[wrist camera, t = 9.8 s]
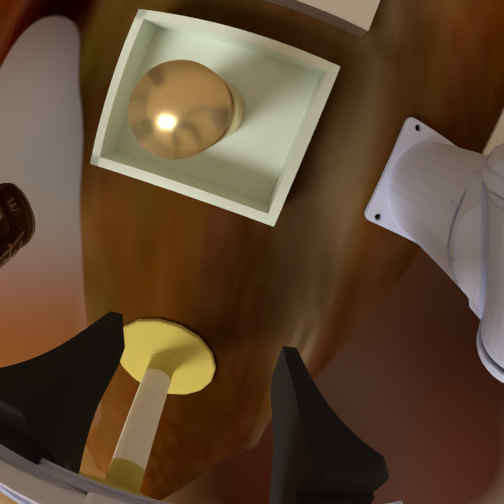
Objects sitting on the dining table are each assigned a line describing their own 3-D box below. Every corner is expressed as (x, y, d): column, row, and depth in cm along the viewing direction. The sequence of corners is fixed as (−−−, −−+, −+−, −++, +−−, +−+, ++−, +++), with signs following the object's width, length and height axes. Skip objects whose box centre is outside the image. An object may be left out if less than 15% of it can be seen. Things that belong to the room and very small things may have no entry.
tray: (329, 73, 17) (340, 66, 14) (272, 211, 21) (273, 226, 18) (154, 21, 16) (138, 9, 13) (110, 156, 20) (90, 163, 17)
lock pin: (253, 89, 17) (242, 73, 10) (232, 148, 19) (210, 171, 12) (192, 73, 17) (144, 52, 10) (174, 131, 18) (118, 145, 11)
